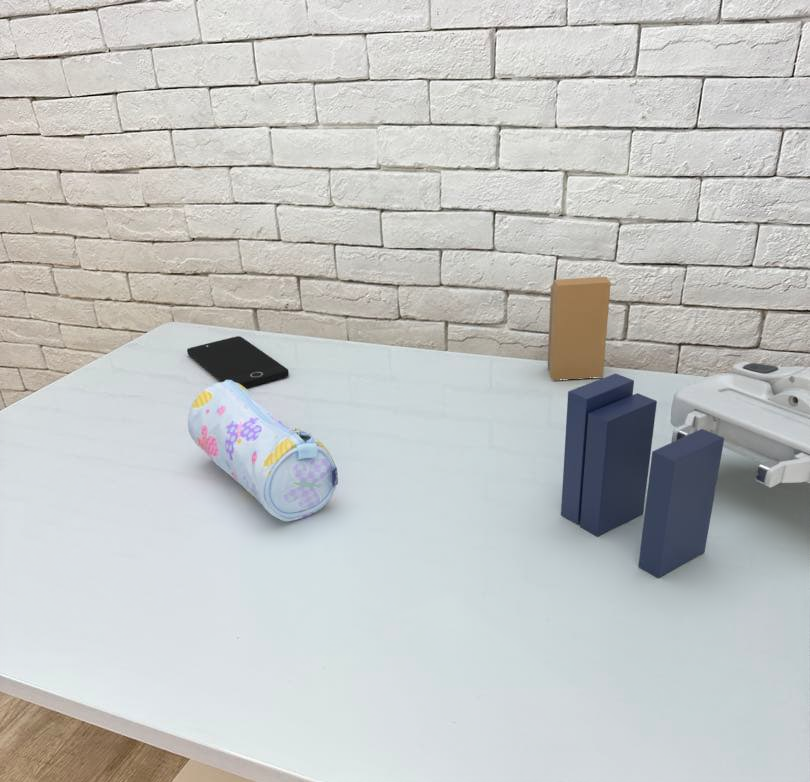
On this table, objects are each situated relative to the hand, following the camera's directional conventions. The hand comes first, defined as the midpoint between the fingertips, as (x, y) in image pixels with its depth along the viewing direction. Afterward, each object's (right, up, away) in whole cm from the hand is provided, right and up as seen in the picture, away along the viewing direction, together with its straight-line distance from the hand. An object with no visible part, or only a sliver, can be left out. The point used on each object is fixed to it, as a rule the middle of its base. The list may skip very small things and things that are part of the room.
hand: (718, 457), depth 79 cm
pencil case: (-45, -2, +17) cm, 48 cm away
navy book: (-4, -9, +1) cm, 10 cm away
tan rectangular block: (-6, +15, +38) cm, 42 cm away
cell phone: (-54, +18, +47) cm, 73 cm away
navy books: (-9, -5, +8) cm, 13 cm away
